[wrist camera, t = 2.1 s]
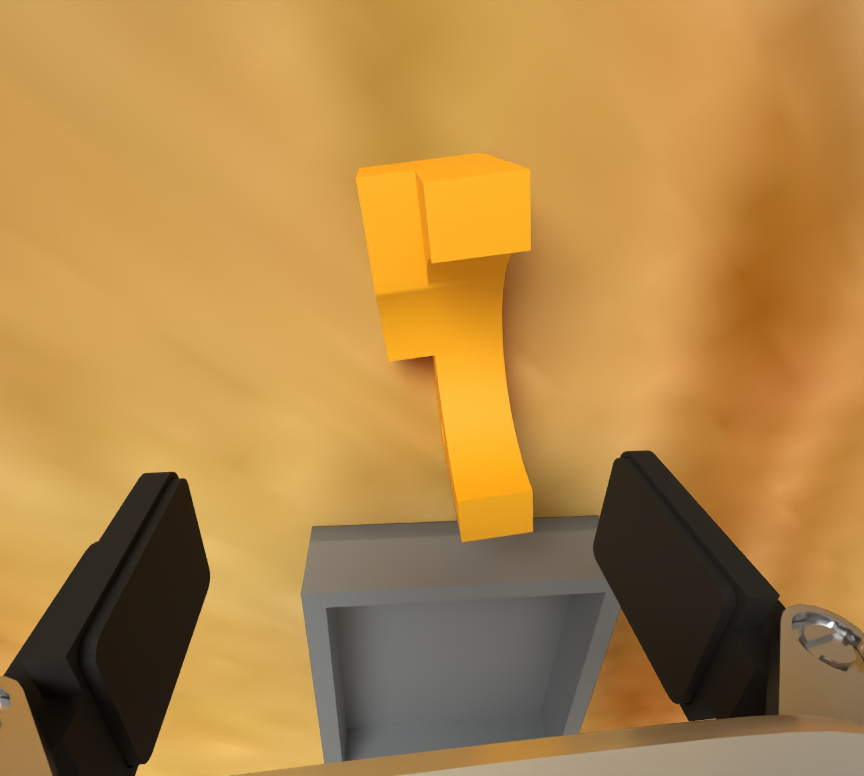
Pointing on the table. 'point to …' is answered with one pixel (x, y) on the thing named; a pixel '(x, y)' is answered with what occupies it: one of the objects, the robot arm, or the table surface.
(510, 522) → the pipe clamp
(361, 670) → the tray
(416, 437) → the table surface
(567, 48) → the table surface
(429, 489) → the table surface
